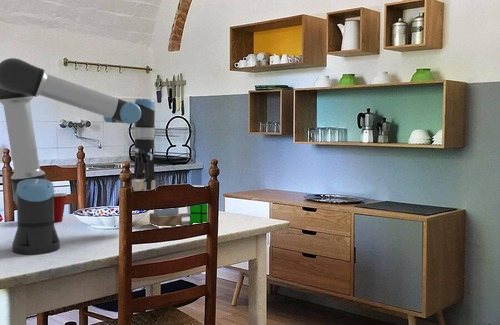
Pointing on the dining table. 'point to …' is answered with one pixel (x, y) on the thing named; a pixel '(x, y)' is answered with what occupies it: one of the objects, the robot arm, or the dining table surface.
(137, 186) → the maple block
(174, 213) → the slate block
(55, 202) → the plastic cup
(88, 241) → the dining table surface
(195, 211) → the puzzle cube
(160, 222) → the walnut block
